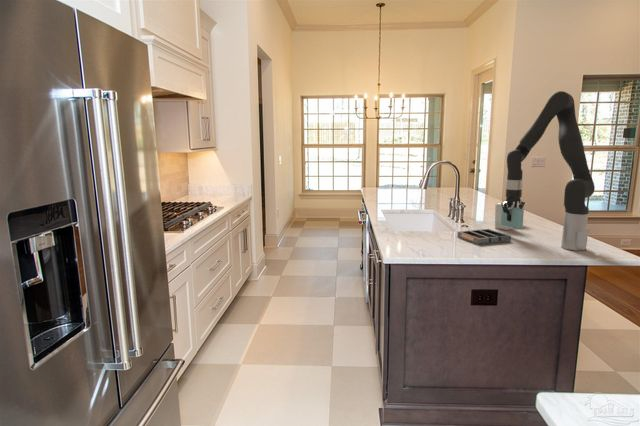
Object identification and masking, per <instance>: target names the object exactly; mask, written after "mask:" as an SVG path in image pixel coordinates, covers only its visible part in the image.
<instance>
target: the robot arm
mask: <svg viewBox="0 0 640 426" xmlns="http://www.w3.org/2000/svg"><path fill="white" fill-rule="evenodd" d="M575 107H576V106H575V100H574V97H573V96H572V95H571V94H570V93H568V92H566V91H563V90H561V91H560V90H558V91H555V92H554V93H553V94H551V95H550V97H549V98H548V99H547V102H546V103H545V105H544V107H543V109H542V110H541V111H540V114H539V115H538V116H537V118H536V119H535V121H533V124H532V125H531V126H530V127H529V129H528V130H527V131H526V132H525V133H524V135H522V138H520V140H519V144H518V145H517V146H516V148H515V149H512V150H510V151H509V152H508V154H507V156H506V167H507V175H506V176H507V178H506V185H505V197H506V199H505V201H504V202H500V203H501V205H502V208H503V212H504V213H507V221H511V215H512V210H513V208H519V209H524V207H525V203H526V202H525V201H522V199H521V198H522V195H523V169H522V162H523V161H524V160H525V159H526V158H527V157H528V155H529V154H530V152H531V150H532V149H534V148H533V147H535V146H536V145H537V143H538V142H539V141H540V140H541V138H542V137H543V135H544V133H545V132H546V130H547V128H548V126H549V124H550V123H551V122H552V121H553V119H554V118H555V117H557V118H556V119H557V122H558V145H559V150H560V154H561V156H562V158H563V160H564V161H565V162H566V163H567V165H568V167H569V168H570V171H571V173H572V178H573V179H571V180H569V181H568V182H567V183H566V185H565V188H564V197H563V199H564V200H563V206H564V209H565V210H564V218H563V226H562V227H563V228H562V234H561V235H562V236H561V245H560V247H561V248H562V249H566V250H570V251H575V252H578V251H586V250H587V244H588V236H589V230H588V228H587V226H588V220H589V219H588V217H589V212H590V211H589V210H590V209H589V207H588V206H586V199H587V198H590V197H592V196H593V194H594V193H595V182H594V180H593V177H592V174H591V172H590V169H589V165H588V160H587V156H586V151H585V148H584V142H583V139H582V134H581V131H580V127H579V124H578V120H577V117H576V116H577V115H576V108H575ZM509 207H510V208H509ZM509 210H510V211H509ZM585 249H586V250H585Z"/></svg>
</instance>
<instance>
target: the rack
mask: <svg viewBox="0 0 640 426" xmlns="http://www.w3.org/2000/svg"><path fill="white" fill-rule="evenodd" d="M457 238H459V239H461V240H463V241H464V240H465V241H467V242H469V243H472V244H474V245H477V246H482V245H492V244H493V245H495V244H501V243H511V242H512V236H511V235H509V234H505V233H502V232H501V231H496V230H493V229H490V228H482V229H472V230H470V229H469V230H460V231H459V230H458V231H457Z"/></svg>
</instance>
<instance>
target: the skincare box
mask: <svg viewBox="0 0 640 426" xmlns="http://www.w3.org/2000/svg"><path fill="white" fill-rule="evenodd" d="M501 203H502V202H498V203H496V204H495V214H494V216H495V217H494V229H497V230H504V231H510V230H512V229H513V228H512V227H508V226H504V225H501V216H502V205H501Z"/></svg>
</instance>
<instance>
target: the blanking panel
mask: <svg viewBox="0 0 640 426" xmlns="http://www.w3.org/2000/svg"><path fill="white" fill-rule="evenodd" d="M509 208H510V207H509ZM509 211H510V210H509ZM524 211H525V210H524V208H523V209H519V208H513V210H512V215H511V221H507V213H504V212H503V208H502V216H501V225H504V226H508V227H512V229H513V228H514V229H516V230H520V229H521V230H522V229H523V228H524V224H523V223H524V213H525V212H524Z"/></svg>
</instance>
